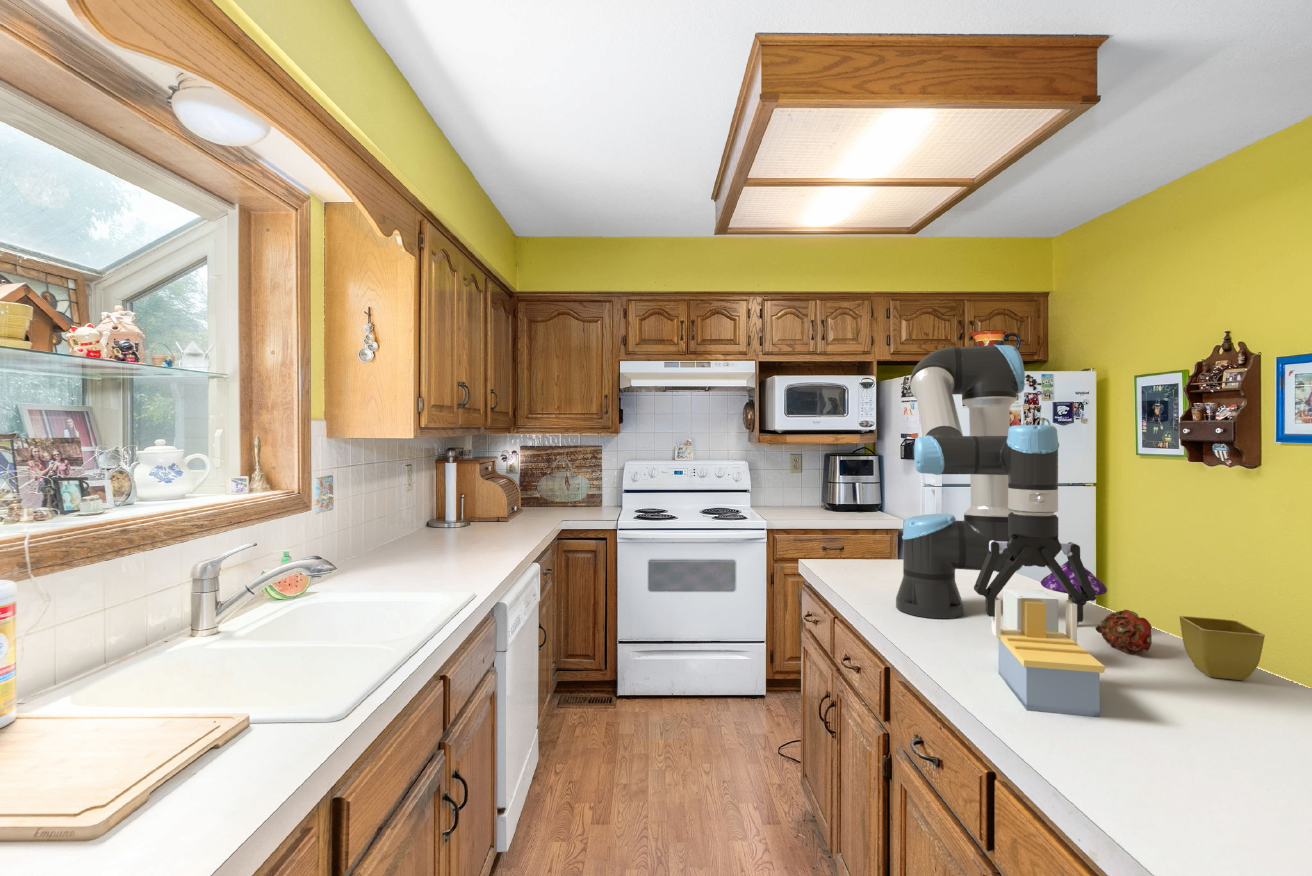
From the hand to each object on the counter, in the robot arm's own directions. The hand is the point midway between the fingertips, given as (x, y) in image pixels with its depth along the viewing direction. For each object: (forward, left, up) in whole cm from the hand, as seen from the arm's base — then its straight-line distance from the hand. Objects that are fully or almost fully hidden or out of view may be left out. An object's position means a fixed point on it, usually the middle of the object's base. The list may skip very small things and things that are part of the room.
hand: (1033, 637), depth 107 cm
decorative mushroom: (-36, +19, -8) cm, 41 cm away
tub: (+5, 0, -8) cm, 9 cm away
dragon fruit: (-22, +23, -8) cm, 32 cm away
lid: (+5, 0, -1) cm, 6 cm away
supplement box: (-12, +3, -8) cm, 14 cm away
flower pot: (-11, +33, -8) cm, 36 cm away
